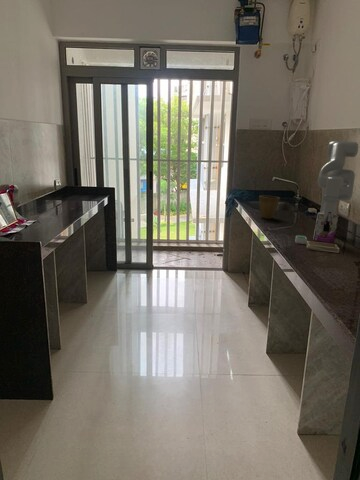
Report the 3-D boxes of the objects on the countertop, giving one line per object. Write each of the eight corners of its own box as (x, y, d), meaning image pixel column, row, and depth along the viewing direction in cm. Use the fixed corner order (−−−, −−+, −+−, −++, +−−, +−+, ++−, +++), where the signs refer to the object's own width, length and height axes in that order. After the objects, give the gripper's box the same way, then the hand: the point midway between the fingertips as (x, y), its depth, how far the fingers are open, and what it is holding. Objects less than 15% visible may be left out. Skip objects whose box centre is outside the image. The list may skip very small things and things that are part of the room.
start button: (297, 239, 206) (297, 235, 205) (303, 240, 205) (304, 236, 204) (297, 241, 202) (298, 236, 202) (304, 242, 202) (305, 237, 201)
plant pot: (277, 220, 261) (280, 198, 257) (257, 218, 263) (259, 197, 259) (275, 216, 275) (278, 196, 271) (256, 214, 277) (258, 194, 273)
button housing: (295, 240, 207) (295, 235, 206) (305, 241, 206) (305, 236, 205) (295, 243, 202) (296, 237, 201) (306, 244, 201) (306, 239, 200)
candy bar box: (313, 241, 208) (318, 213, 204) (312, 239, 213) (317, 212, 209) (333, 243, 206) (339, 215, 201) (332, 241, 210) (337, 214, 206)
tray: (305, 244, 200) (306, 240, 200) (335, 248, 197) (336, 244, 196) (307, 249, 191) (308, 245, 191) (338, 252, 188) (339, 248, 187)
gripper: (321, 196, 212) (316, 226, 216) (325, 200, 196) (320, 232, 200) (335, 197, 210) (329, 227, 215) (340, 201, 194) (334, 234, 199)
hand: (325, 229), depth 208 cm, fingers closed on candy bar box, 5 cm apart
